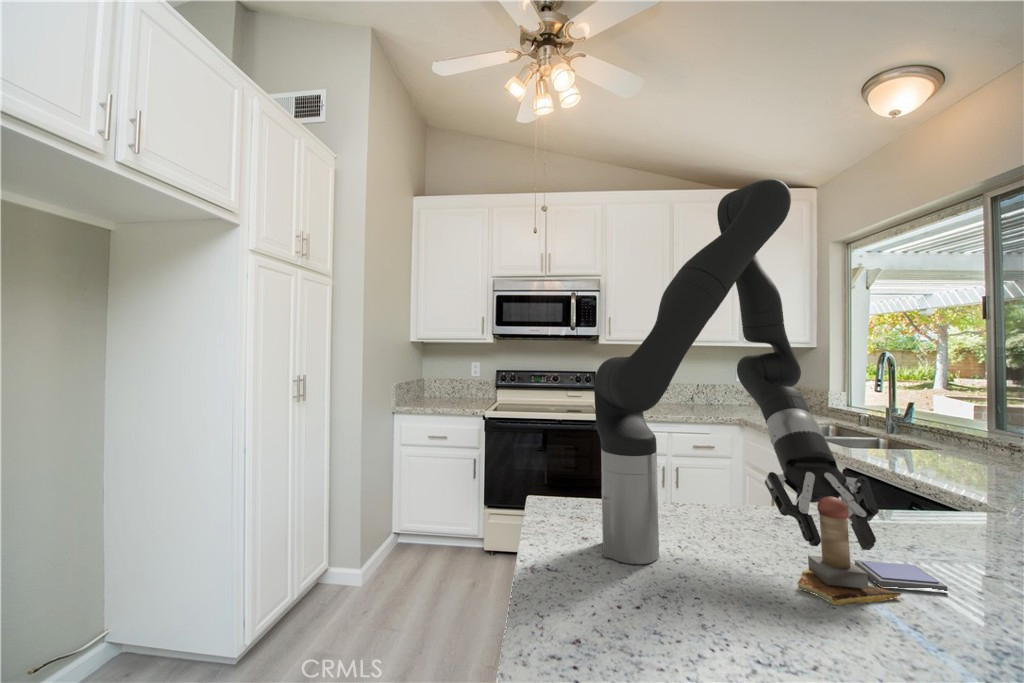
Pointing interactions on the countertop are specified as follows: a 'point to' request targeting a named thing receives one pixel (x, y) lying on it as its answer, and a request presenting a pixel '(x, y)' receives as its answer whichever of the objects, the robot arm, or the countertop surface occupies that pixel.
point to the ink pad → (899, 575)
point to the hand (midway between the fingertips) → (842, 545)
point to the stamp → (835, 548)
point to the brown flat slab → (842, 591)
